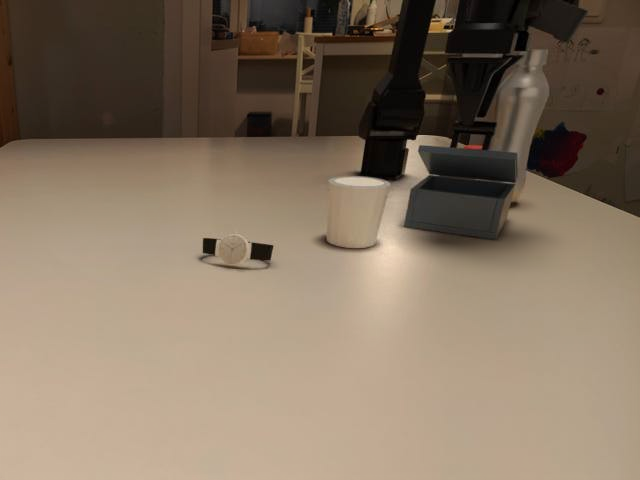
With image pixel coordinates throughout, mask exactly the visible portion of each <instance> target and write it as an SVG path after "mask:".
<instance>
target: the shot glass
mask: <svg viewBox="0 0 640 480" xmlns="http://www.w3.org/2000/svg"><path fill="white" fill-rule="evenodd" d="M327 182H328V183H327V184H328V188H327V214H326V215H327V217H326V242H327V243H329V244H330V245H333V246H336V247H341V248H348V249H351V248H352V249H366V248H370V247H373V246H374V245H376V242H377V238H378V235H379V231H380V226H381V224H382V223H381V222H382V219H383V215H384V211H385V208H386V203H387V200H388V196H389V192H390V189H391V182H390V181H389V180H386V179H380V178H372V177H363V176H357V175H346V176H344V175H343V176H337V177H331V178H329V179H328V181H327Z"/></svg>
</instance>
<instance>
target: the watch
mask: <svg viewBox="0 0 640 480" xmlns="http://www.w3.org/2000/svg"><path fill="white" fill-rule="evenodd" d="M237 233H238V232H237V231H236V230H234V231H233V233H230V234H227V235H225V236H224V237H222V238H211V237H202V254H204V255H205V254H206V255H212V256H215V257H218V258H219V259H220V260H221V261H222V262H223V263H224V264H226V265H229V266H237V265H238V266H239V265H241V264H242V263H243V262H245V261H246V260H248V261H250V260H254V261H255V260H256V261H269V262H270V261H271V260H272V255H273V250H274V244H269V243H260V242H251V241H247V239H246V238H245V237H244V236H242V235H241V234H237Z"/></svg>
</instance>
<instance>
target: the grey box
mask: <svg viewBox="0 0 640 480" xmlns="http://www.w3.org/2000/svg"><path fill="white" fill-rule="evenodd" d="M515 185H516V184H513V183H503V182H493V181H483V180H474V179H464V178H454V177H444V176H439V175H431V174H428V175H427V176H426V177H424V178H423V179H422V180H421V181H419V182H418V183H417V184H415V185H413V186H412V187H411V188H410V191H409V195H408V201H407V206H406V207H407V208H406V212H405V218H404V219H405V220H404V223H403V227H404V228H410V229H411V228H412V229H418V230H425V231H426V230H427V231H432V232H433V231H434V232H440V233H446V234H455V235H462V236H467V237H474V238H482V239H488V240H496V238H497V237H498V235H499V233H500V232H501V230H502V229H503V227H504V225H505V223H506V222H507V219H508V216H509V211H510V207H511V205H512V202H511V200H512V196H513V193H514V189H515Z"/></svg>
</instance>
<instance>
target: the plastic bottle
mask: <svg viewBox="0 0 640 480" xmlns="http://www.w3.org/2000/svg"><path fill="white" fill-rule="evenodd" d="M548 54H549V48H548V49H547V48H529V49H528V51H516V54H515V55H525V56H524V57H523V58H522V59H521V60H519V61H518V62H517V63H515V64H514V68H513V70H512V71H511V72H510V73H509V74H508V75H507V76H506V78H504V79H503V80H502V81H501V84H500V86H499V88H498V90H497V92H496V95H495V97H494V106H493V107H494V108H493V117H492V122H497V129H496V132H495V135H494V136H493V137H492V140H491V144H490V147H489V150H490V151H502V152H515V153H517V167H518V178H517V181H516V183H513V184H516V185H515V189H514V193H513V196H512V200H511V203H515V202H516V201H517V200H518V199H519V198H520V197H521V196H522V194H523V191H524V189H525V187H526V180H527V166H528V162H529V161H528V160H529V154H530V149H531V145H532V142H533V137H534V135H535V132H536V130H537V127H538V126H537V125H538V123H539V122H540V118H541V116H542V114H543V112H544V109H545V107H546V103H547V102H548V99H549V96H550V85H549V82H548V80H547V77H546V75H545V73H544V71H543V68H544V67H543V66H546V64H547V59H548ZM476 180H481V179H476ZM483 181H490V180H483ZM493 182H500V181H493ZM503 183H510V182H503Z"/></svg>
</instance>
